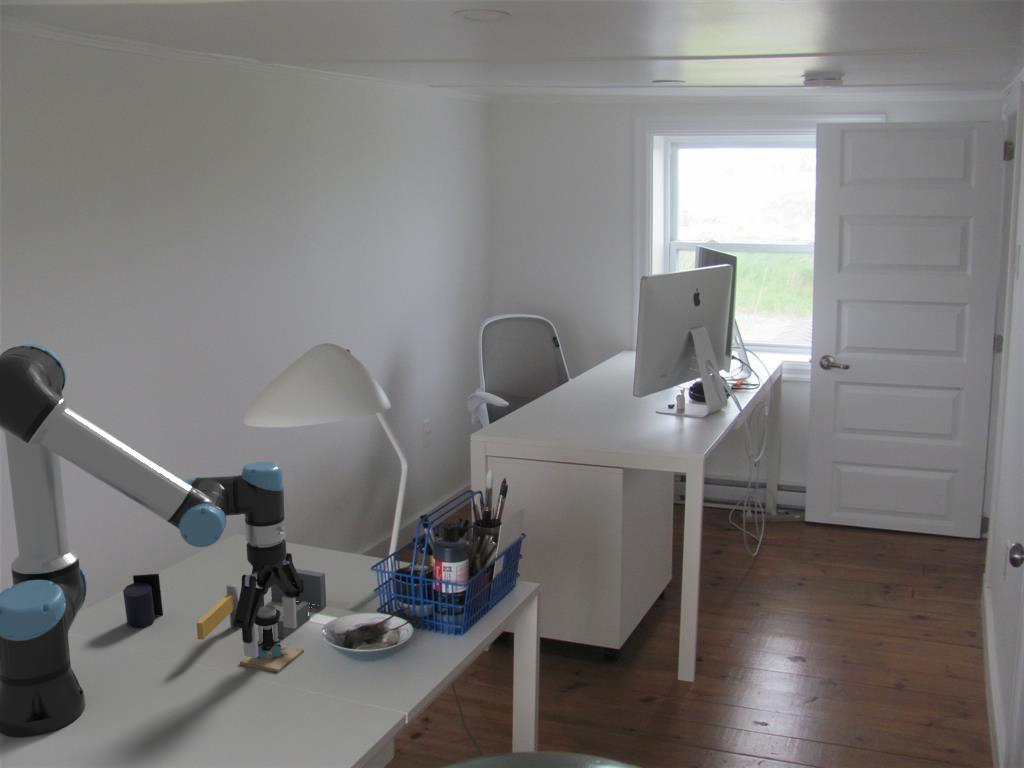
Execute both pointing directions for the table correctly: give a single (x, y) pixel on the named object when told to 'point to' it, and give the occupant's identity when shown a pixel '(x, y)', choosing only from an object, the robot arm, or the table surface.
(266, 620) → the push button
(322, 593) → the cradle
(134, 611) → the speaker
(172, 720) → the table surface
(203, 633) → the wooden plank
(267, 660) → the cork mat
